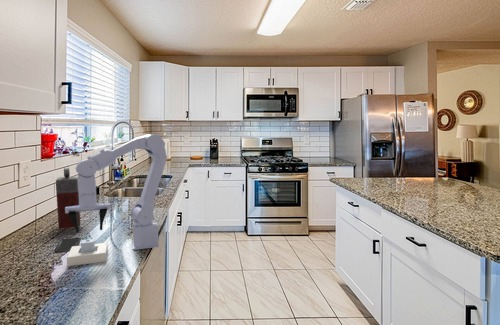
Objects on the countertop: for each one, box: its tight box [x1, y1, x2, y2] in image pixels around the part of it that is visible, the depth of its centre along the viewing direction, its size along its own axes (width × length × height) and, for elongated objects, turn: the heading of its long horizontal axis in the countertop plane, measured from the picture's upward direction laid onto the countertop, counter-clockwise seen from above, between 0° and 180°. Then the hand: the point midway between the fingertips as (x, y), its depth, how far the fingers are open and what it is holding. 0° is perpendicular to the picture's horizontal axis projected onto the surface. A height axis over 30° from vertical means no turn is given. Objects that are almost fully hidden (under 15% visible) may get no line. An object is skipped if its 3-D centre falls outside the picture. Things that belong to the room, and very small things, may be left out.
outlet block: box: [66, 242, 109, 267], centre depth 122 cm, size 12×12×3 cm
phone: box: [54, 237, 82, 253], centre depth 136 cm, size 8×1×15 cm
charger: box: [80, 238, 96, 253], centre depth 121 cm, size 4×4×6 cm
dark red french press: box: [55, 167, 81, 230], centre depth 164 cm, size 9×11×28 cm
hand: (89, 230), depth 123 cm, fingers open, 7 cm apart
